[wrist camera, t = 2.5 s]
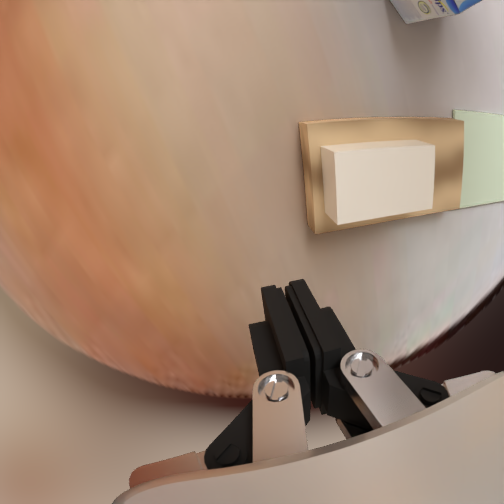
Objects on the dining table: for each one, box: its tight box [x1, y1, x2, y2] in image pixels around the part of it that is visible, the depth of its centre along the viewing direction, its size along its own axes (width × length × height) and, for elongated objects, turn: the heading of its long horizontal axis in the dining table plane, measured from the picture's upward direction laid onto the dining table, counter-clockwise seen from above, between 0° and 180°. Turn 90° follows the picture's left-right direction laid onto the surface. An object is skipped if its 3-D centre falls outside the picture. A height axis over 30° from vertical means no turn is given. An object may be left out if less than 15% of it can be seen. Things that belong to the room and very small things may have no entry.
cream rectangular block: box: [321, 140, 435, 225], centre depth 25 cm, size 6×10×3 cm, turn 98°
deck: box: [299, 117, 464, 235], centre depth 28 cm, size 10×18×2 cm, turn 98°
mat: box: [453, 110, 504, 208], centre depth 30 cm, size 12×18×1 cm, turn 98°
